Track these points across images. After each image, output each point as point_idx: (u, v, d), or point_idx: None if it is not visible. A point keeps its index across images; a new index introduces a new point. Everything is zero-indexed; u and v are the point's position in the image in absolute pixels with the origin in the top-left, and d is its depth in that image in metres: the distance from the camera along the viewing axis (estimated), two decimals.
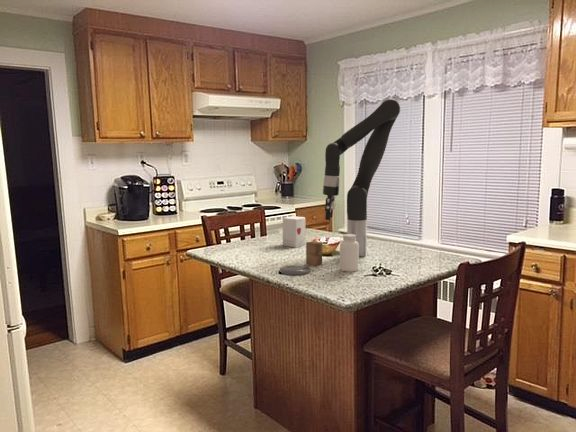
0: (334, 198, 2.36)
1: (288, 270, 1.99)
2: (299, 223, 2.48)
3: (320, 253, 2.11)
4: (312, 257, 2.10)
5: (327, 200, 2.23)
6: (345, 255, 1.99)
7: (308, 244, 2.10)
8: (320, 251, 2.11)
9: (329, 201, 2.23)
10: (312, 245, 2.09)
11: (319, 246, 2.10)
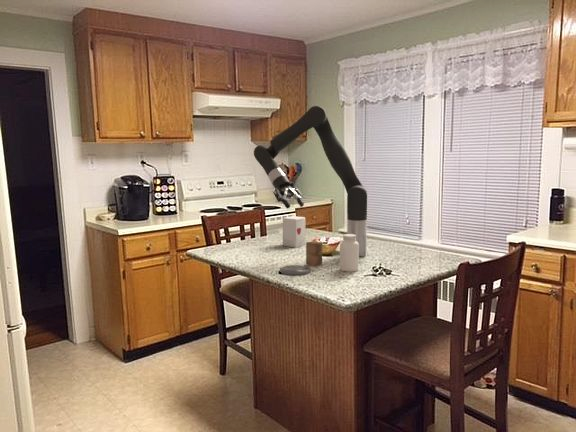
0: (297, 188, 2.25)
1: (288, 270, 1.99)
2: (299, 223, 2.48)
3: (320, 253, 2.11)
4: (312, 257, 2.10)
5: (274, 192, 2.17)
6: (345, 255, 1.99)
7: (308, 244, 2.10)
8: (320, 251, 2.11)
9: (275, 191, 2.16)
10: (312, 245, 2.09)
11: (319, 246, 2.10)
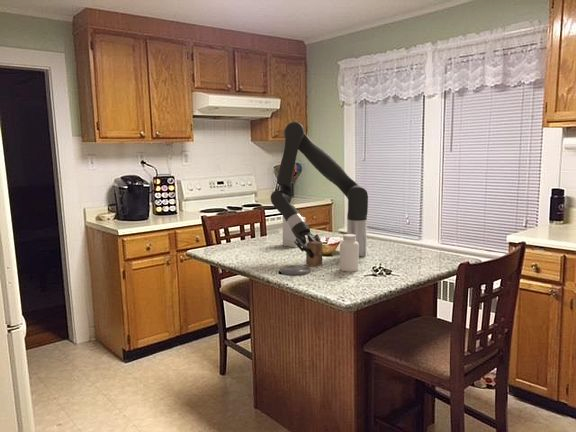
0: (318, 236, 2.18)
1: (288, 270, 1.99)
2: None
3: (320, 253, 2.11)
4: None
5: (295, 242, 2.10)
6: (345, 255, 1.99)
7: (308, 244, 2.10)
8: (320, 251, 2.11)
9: (297, 241, 2.10)
10: (312, 245, 2.09)
11: (319, 246, 2.10)
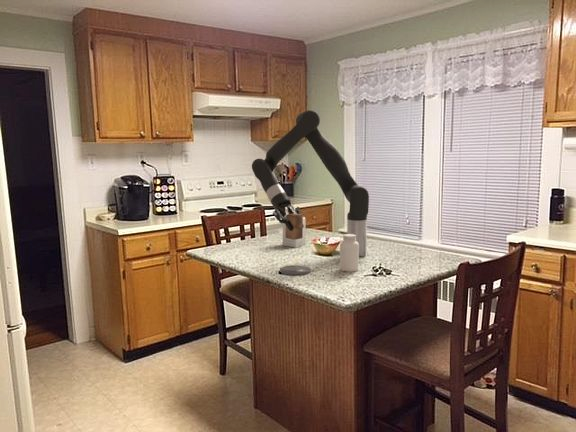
0: (299, 209, 2.05)
1: (288, 270, 1.99)
2: None
3: (300, 226, 1.98)
4: None
5: (274, 213, 1.97)
6: (345, 255, 1.99)
7: (287, 216, 1.98)
8: (300, 224, 1.98)
9: (276, 213, 1.97)
10: (291, 217, 1.96)
11: (299, 218, 1.97)
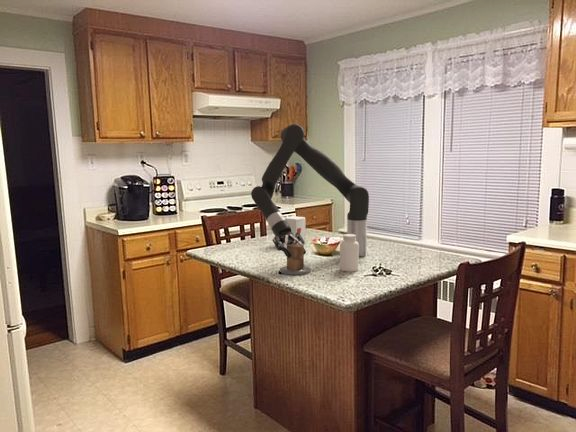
0: (299, 234, 2.07)
1: (288, 270, 1.99)
2: (299, 223, 2.48)
3: (301, 257, 2.00)
4: (293, 261, 1.98)
5: (273, 240, 1.99)
6: (345, 255, 1.99)
7: (289, 247, 1.99)
8: (301, 255, 2.00)
9: (275, 239, 1.98)
10: (293, 248, 1.97)
11: (300, 249, 1.99)
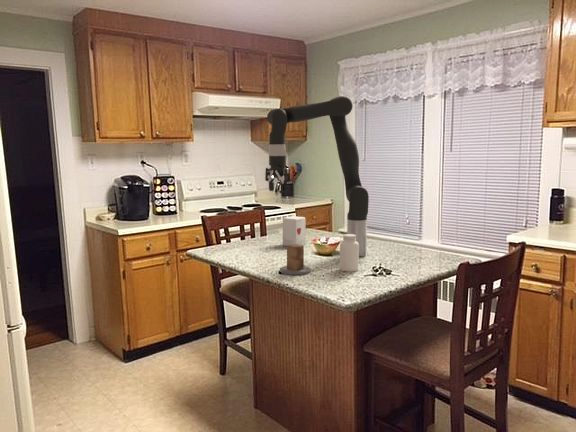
0: None
1: (288, 270, 1.99)
2: (299, 223, 2.48)
3: (301, 257, 2.00)
4: (293, 261, 1.98)
5: (287, 170, 2.08)
6: (345, 255, 1.99)
7: (289, 247, 1.99)
8: (301, 255, 2.00)
9: (288, 171, 2.09)
10: (293, 248, 1.97)
11: (300, 249, 1.99)
